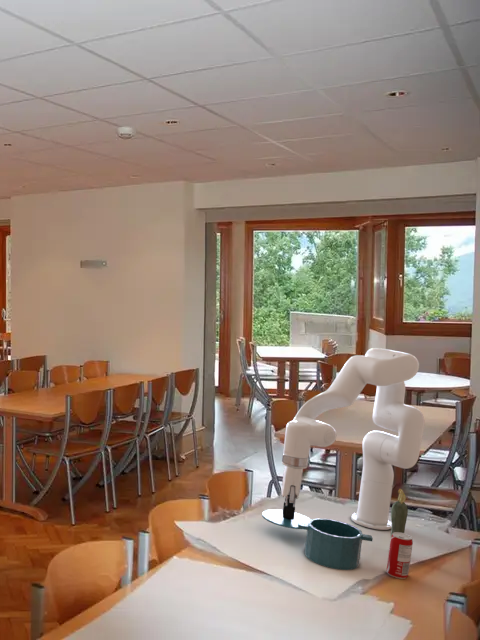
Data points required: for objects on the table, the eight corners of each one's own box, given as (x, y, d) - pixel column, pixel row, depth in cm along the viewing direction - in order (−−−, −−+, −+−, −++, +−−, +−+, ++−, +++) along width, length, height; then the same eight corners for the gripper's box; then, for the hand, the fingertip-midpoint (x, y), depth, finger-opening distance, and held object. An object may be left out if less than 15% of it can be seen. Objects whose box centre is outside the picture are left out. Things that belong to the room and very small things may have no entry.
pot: (294, 543, 230) (297, 513, 229) (365, 556, 224) (368, 526, 223) (296, 561, 217) (300, 530, 216) (372, 576, 210) (376, 543, 209)
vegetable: (403, 556, 226) (412, 493, 224) (388, 554, 227) (396, 491, 224) (399, 550, 230) (407, 488, 228) (384, 548, 231) (392, 486, 229)
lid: (261, 509, 247) (263, 489, 246) (312, 518, 242) (314, 498, 241) (261, 524, 232) (264, 504, 231) (315, 534, 227) (318, 514, 226)
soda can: (390, 569, 216) (395, 529, 215) (410, 576, 212) (416, 535, 211) (383, 574, 212) (388, 533, 211) (404, 581, 208) (409, 540, 207)
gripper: (281, 452, 243) (275, 506, 245) (283, 465, 228) (276, 523, 230) (306, 456, 241) (299, 511, 243) (309, 469, 226) (302, 527, 228)
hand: (288, 516), depth 237 cm, fingers closed on lid, 2 cm apart
